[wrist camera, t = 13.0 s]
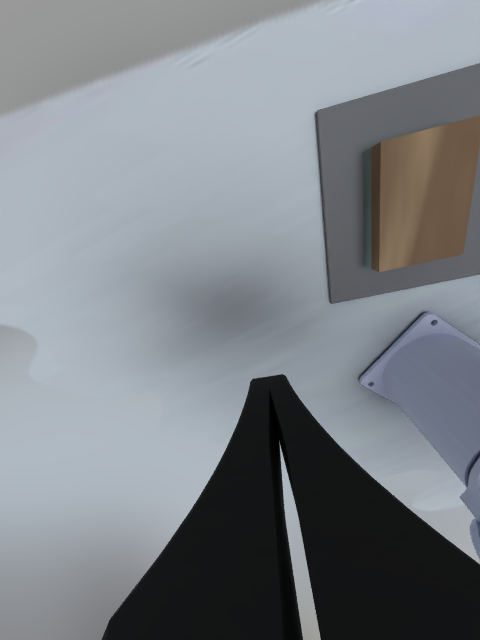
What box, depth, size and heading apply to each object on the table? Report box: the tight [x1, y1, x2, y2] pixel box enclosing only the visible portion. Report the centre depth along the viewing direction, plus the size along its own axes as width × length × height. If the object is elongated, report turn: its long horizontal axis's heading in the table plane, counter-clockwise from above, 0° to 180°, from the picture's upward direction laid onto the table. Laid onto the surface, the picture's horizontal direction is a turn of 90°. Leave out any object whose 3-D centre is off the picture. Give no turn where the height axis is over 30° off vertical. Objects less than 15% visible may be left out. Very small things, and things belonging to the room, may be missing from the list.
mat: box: [316, 63, 480, 304], centre depth 15 cm, size 16×12×1 cm
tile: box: [363, 115, 480, 272], centre depth 14 cm, size 2×7×5 cm
